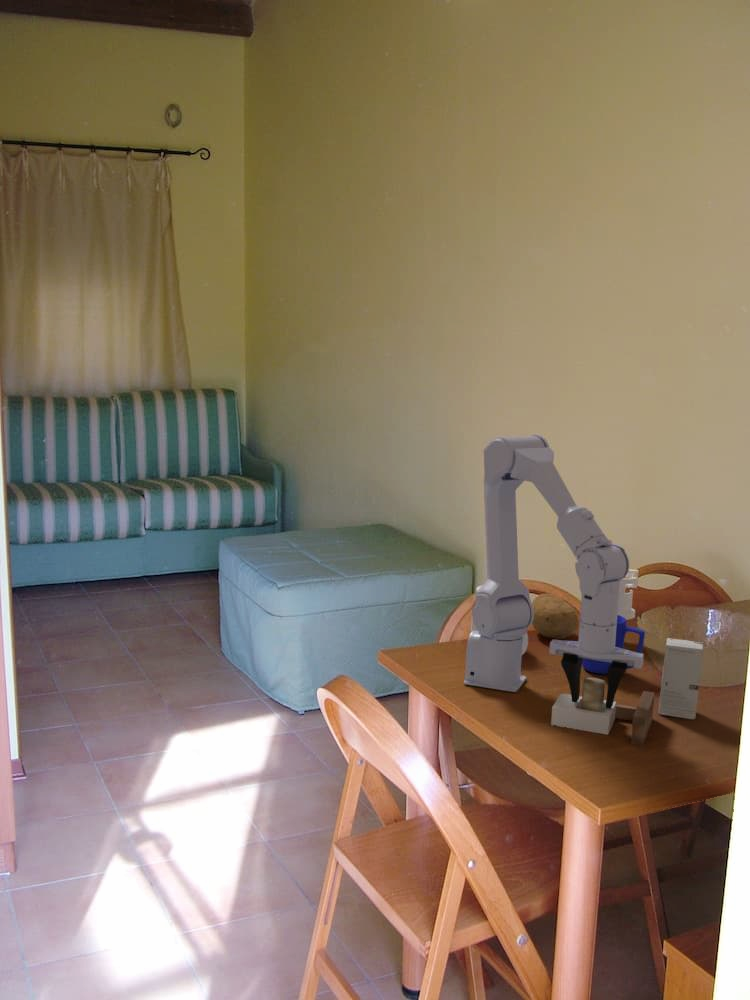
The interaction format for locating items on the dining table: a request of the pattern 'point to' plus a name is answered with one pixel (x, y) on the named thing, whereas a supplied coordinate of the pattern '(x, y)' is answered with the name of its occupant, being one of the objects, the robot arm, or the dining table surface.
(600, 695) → the dowel
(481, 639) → the robot arm
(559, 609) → the potato
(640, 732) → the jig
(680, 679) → the skincare box
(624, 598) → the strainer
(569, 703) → the white pocketed block
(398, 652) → the dining table surface
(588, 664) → the mug
